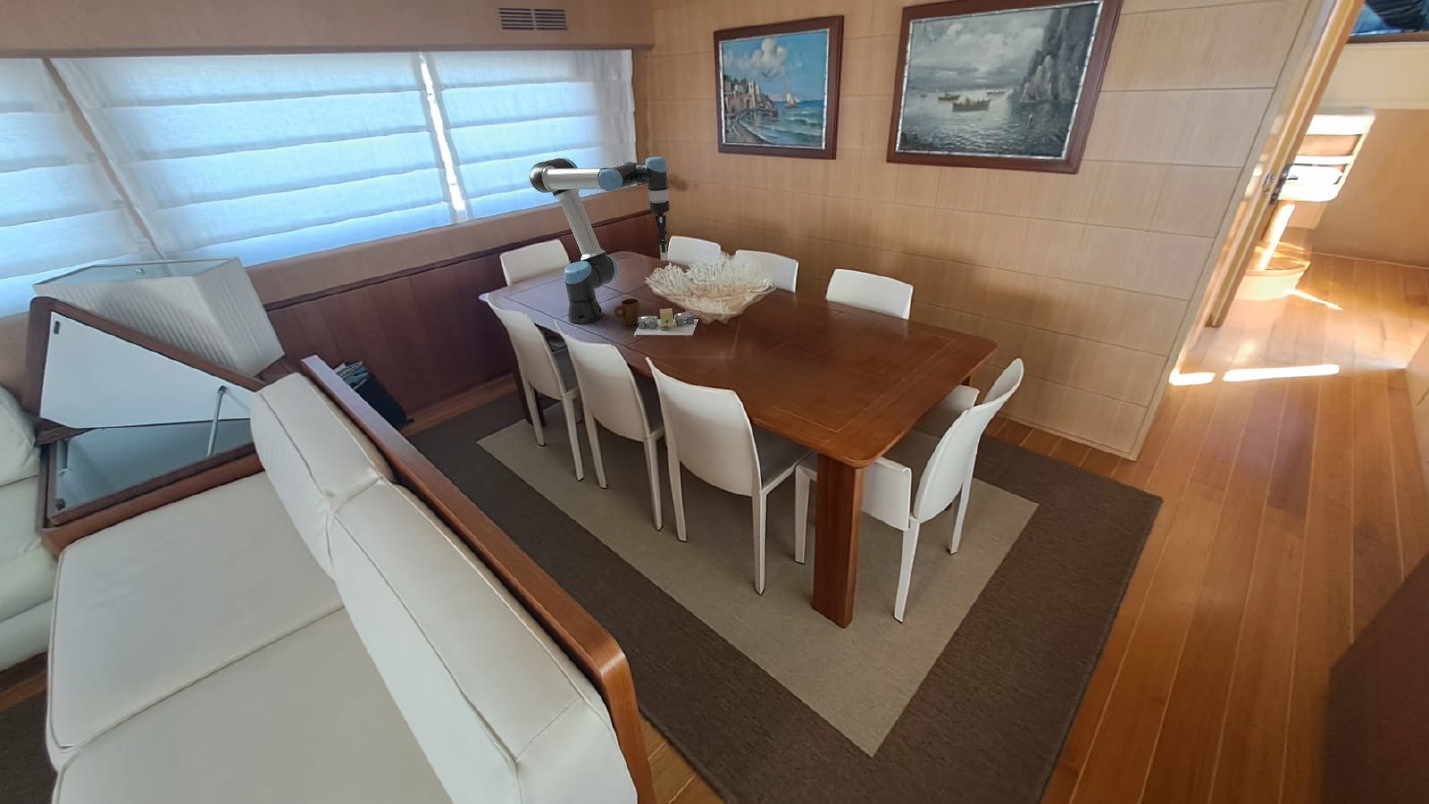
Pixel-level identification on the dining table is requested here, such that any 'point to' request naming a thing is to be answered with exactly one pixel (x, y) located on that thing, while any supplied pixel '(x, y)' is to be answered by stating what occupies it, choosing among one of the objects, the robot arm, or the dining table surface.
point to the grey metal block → (684, 318)
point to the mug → (629, 311)
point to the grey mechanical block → (647, 322)
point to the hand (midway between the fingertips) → (664, 255)
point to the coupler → (666, 318)
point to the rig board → (666, 331)
